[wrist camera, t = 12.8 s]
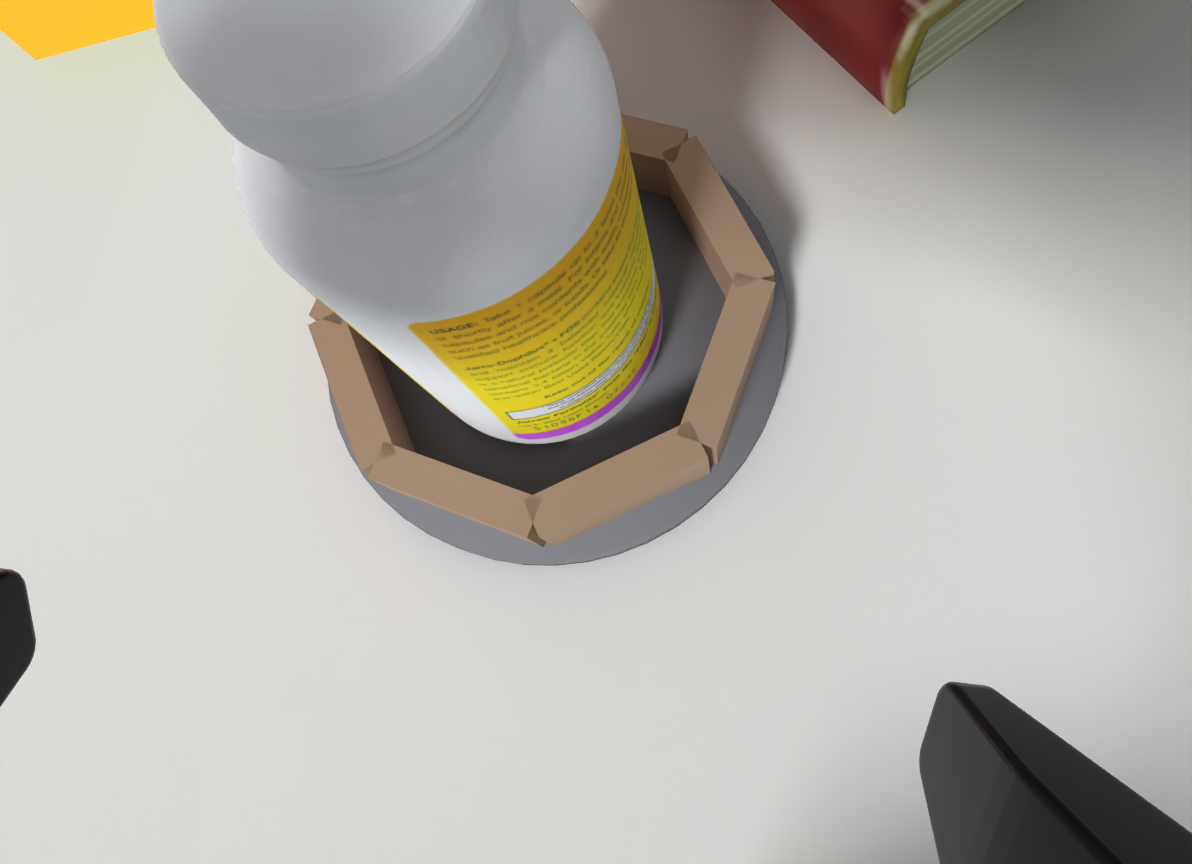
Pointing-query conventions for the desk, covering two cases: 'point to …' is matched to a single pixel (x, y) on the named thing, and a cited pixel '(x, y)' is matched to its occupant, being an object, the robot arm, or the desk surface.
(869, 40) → the hardcover book
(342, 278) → the supplement bottle
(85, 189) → the desk surface
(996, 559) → the desk surface
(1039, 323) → the desk surface
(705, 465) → the coaster ring
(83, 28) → the orange juice
